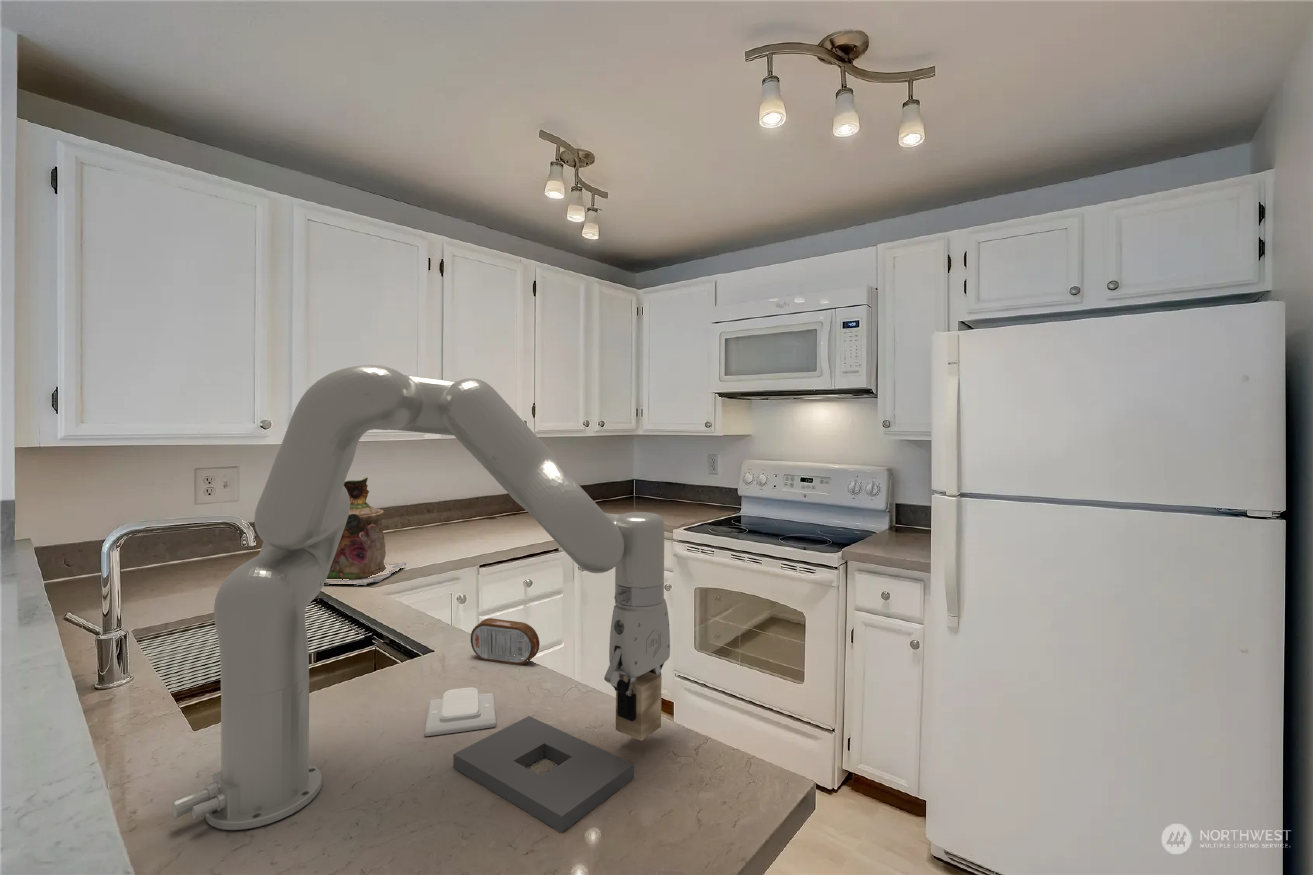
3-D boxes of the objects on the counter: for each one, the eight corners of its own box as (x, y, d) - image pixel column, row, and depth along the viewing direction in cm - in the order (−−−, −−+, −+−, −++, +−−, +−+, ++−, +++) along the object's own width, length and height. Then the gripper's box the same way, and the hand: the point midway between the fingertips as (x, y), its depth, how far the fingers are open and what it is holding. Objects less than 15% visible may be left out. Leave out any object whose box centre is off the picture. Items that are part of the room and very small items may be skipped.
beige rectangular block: (641, 740, 87) (641, 687, 87) (615, 730, 90) (616, 678, 90) (660, 727, 91) (661, 676, 91) (635, 717, 94) (636, 667, 94)
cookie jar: (338, 566, 201) (339, 473, 200) (409, 568, 200) (409, 475, 199) (291, 586, 176) (291, 480, 175) (371, 588, 175) (371, 481, 174)
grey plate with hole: (561, 832, 70) (561, 816, 70) (453, 767, 84) (453, 753, 84) (634, 777, 82) (634, 763, 82) (528, 728, 95) (528, 715, 95)
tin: (540, 662, 121) (540, 622, 121) (532, 668, 118) (533, 627, 118) (476, 654, 125) (476, 615, 125) (467, 659, 122) (468, 619, 122)
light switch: (493, 678, 107) (496, 705, 95) (493, 701, 107) (496, 731, 95) (430, 685, 104) (424, 714, 92) (429, 708, 104) (424, 741, 92)
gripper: (622, 612, 81) (621, 742, 81) (690, 586, 95) (689, 697, 95) (583, 602, 85) (582, 725, 86) (653, 578, 99) (652, 685, 99)
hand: (638, 709), depth 90 cm, fingers closed on beige rectangular block, 5 cm apart
